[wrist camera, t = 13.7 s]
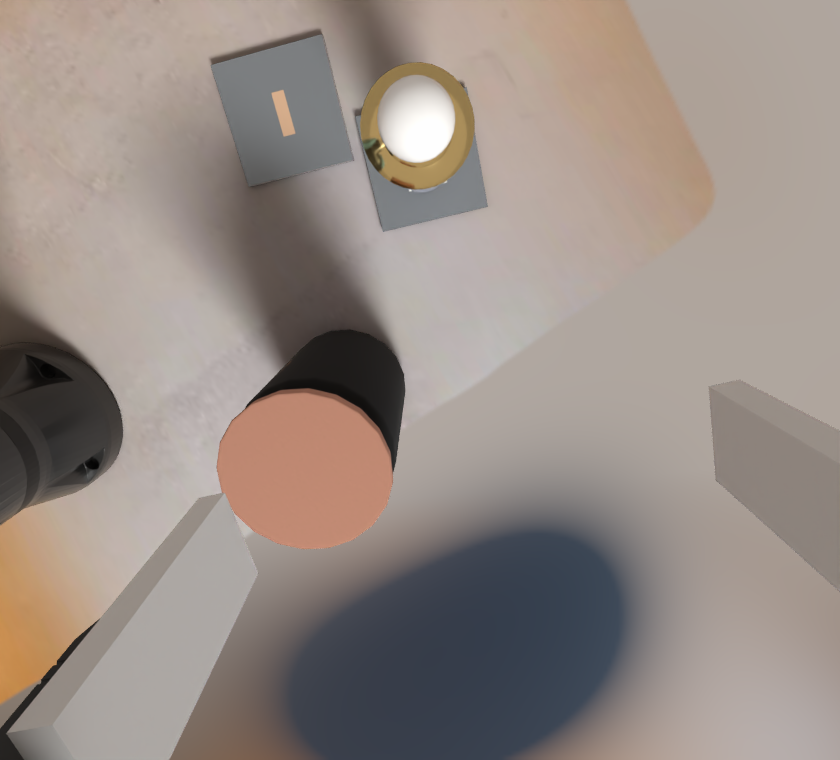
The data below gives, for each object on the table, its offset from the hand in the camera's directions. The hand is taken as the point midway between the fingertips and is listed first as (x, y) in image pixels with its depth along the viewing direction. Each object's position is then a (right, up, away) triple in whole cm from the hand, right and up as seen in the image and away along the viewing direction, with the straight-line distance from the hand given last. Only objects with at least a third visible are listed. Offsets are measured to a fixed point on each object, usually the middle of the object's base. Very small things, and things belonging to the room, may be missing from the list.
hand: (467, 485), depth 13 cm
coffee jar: (-8, +3, +34) cm, 35 cm away
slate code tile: (-1, +21, +28) cm, 35 cm away
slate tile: (-12, +24, +27) cm, 38 cm away
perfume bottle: (-1, +21, +27) cm, 34 cm away
